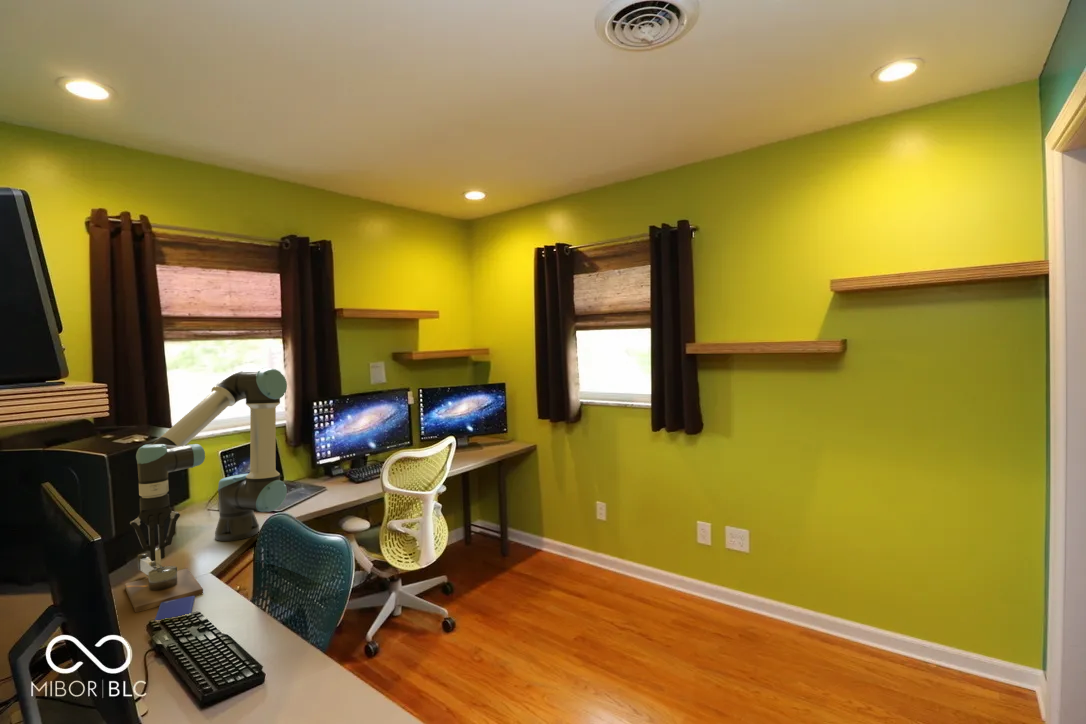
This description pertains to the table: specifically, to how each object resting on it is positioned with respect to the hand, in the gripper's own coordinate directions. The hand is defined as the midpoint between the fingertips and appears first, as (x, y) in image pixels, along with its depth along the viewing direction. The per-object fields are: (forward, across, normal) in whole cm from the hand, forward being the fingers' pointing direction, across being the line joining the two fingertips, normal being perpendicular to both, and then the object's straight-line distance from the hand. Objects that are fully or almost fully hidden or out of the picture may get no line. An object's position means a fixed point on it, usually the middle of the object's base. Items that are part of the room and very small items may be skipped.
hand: (158, 569), depth 171 cm
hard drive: (+4, 0, -29) cm, 29 cm away
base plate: (+3, 0, -11) cm, 11 cm away
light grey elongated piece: (+1, -1, -3) cm, 4 cm away
